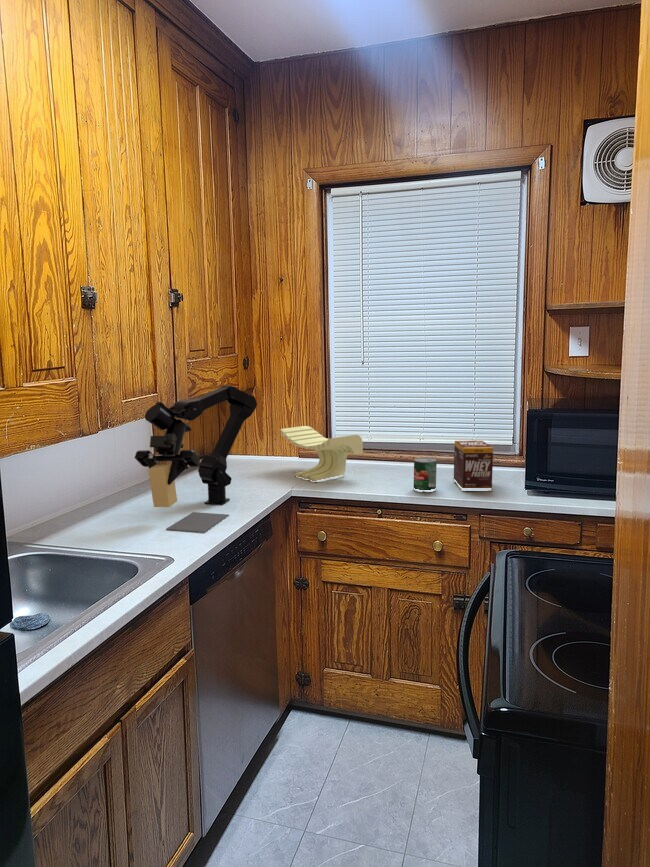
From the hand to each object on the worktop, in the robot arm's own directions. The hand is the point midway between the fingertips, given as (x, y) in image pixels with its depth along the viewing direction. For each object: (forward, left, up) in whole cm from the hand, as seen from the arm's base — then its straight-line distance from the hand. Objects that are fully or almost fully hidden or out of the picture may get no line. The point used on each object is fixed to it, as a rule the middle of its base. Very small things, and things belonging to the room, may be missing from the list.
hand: (160, 484), depth 181 cm
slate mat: (-4, +10, -12) cm, 16 cm away
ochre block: (-2, 0, -6) cm, 7 cm away
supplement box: (-66, +87, -12) cm, 110 cm away
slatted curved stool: (-69, +30, -12) cm, 76 cm away
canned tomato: (-57, +71, -12) cm, 92 cm away
